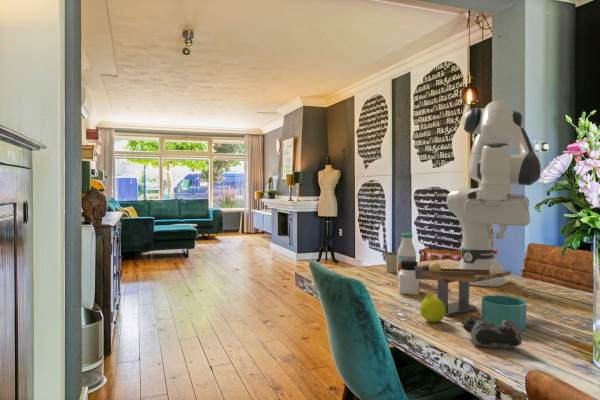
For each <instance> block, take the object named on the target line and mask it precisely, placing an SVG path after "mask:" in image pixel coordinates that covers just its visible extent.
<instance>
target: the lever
mask: <svg viewBox="0 0 600 400" xmlns="http://www.w3.org/2000/svg"><path fill="white" fill-rule="evenodd" d="M430 264H431V263H428V264H422V265H421V264H420V265H417V266H415V275H416V279H419V280H428V281H429V280H431V281H438V280H443V281H447V282H448V284H449V283H454V282H459V281H461V282H478V281H483V280H488V279H493V278H498V277H503V276H504V277H507V276H512V274H511V271H509V270H504V271H492V272H490V271H489V270H482V269H459V268H443V267H441V271H429V265H430Z"/></svg>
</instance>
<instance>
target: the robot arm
mask: <svg viewBox="0 0 600 400" xmlns="http://www.w3.org/2000/svg"><path fill="white" fill-rule="evenodd" d="M523 120H524V119H523V115H522V114H521V112H520V111H515V110H513V109H511V107H510V105H509V104H508V102H505V101H503V100H494V101H493V100H492V101H491V102H489V103H488V104H487V105H486V106H484V108H479V107H472V108H469V109H468V110H467V111H466V113H465V114H464V116H463V118H462V125H463V130H464V131H465V132H466V133H467V134H471V135H473V134H476V136H475V137H474V141H473V143H472V147H471V150H470V155H469V162H468V167H467V174H468V176H469V177H470V178H471V179H472V180H474V181H476V182H478V187H477V188H467V187H466V188H458V189H453V190H451V191H450V192H449V193H448V194H447V197H446V202H445V203H446V206H447V208H448V211H450V212H451V213H452V214H454V215H455V217H456V218H457V220H458V221H459V224H460V227H461V233H462V247H461V253H460V254H461V259H459V264H458V265H459V266H458V269H482V270H489V271H490V272H492V271H505V269H504V266H503V265H502V264H500V263H499V262H498V260H496V259H495V255H498V253H499V251H498V249H497V248H496V249H494V248H492V246H493V245H492V243H493V242H492V241H493V239H494V235H495V239H497V240H503V239H504V238H505V237H504V234H505V233H506V231H507V230H508V226H517V227H526V226H528V225H529V224H530V223H531V215H530V208H529V207H530V199H529V198H528V197H527V196H526V195H524V194H512V185H520V186H531V185H533V184H535V183H536V182H537V181H539V180H540V178H541V175H540V174H542V165H541V162H540V159H539V156H537V154H536V152H535V150H534V147H533V145H532V143H531V141H530V140H531V139H530V138H529V136H528V133H527V132H526V130H525V128H523V124H524V121H523ZM511 148H512V149H514V150H516V151H517V154H511V153H512V152H511ZM492 224H493V225H499V227H498V228H499V229H500V230H499V231H498V232H496V233H495V232H494V231H492V230H491V228H490V227H491V226H492ZM510 282H511V278H508V277H506V276H503V277H498V278H493V279H488V280H483V281H478V282H469V286H470V285H471V286H477V287H496V288H497V287H500V286H503V285H505V284H508V283H510Z"/></svg>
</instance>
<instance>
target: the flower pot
mask: <svg viewBox="0 0 600 400" xmlns="http://www.w3.org/2000/svg"><path fill="white" fill-rule="evenodd" d="M397 253H398V251H397V252H393V251H392V252H391V251H390V252H389V251H387V252H383V255H384V258H385V263H386V272H387V273H390V274H397Z"/></svg>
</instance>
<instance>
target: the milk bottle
mask: <svg viewBox="0 0 600 400" xmlns="http://www.w3.org/2000/svg"><path fill="white" fill-rule="evenodd" d="M400 236H401V237H400V238H401V242H400V246H399V247H398V249H397V252H398V253H397V273H396V279H397V281H398V282H399V271H401V261H402V260H415V261H417V254H416V253H417V252H416V249H415V247H414V244H413V233H412V232H410V233H409V232H402V233H401V235H400Z"/></svg>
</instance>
